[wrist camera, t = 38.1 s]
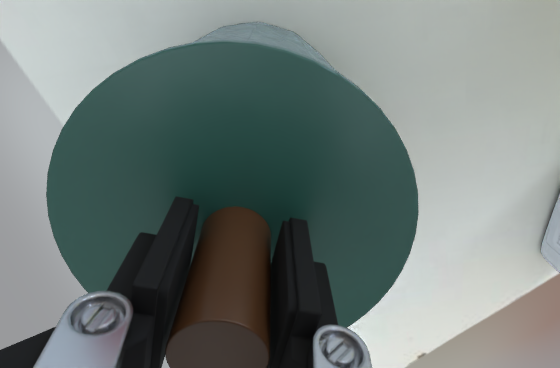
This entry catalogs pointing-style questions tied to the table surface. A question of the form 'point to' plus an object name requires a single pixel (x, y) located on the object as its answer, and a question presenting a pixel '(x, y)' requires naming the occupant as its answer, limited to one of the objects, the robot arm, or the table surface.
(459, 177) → the table surface
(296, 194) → the tin lid
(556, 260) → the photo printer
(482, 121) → the table surface
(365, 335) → the table surface
